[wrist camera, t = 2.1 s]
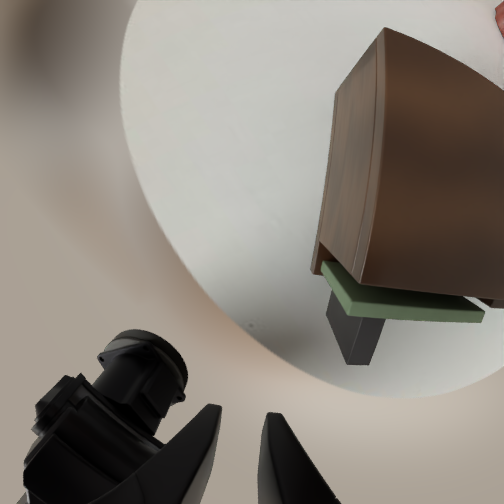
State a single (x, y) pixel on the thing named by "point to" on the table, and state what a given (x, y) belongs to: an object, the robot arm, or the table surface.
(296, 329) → the table surface
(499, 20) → the flower pot
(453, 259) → the cupboard
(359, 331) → the sliding door
